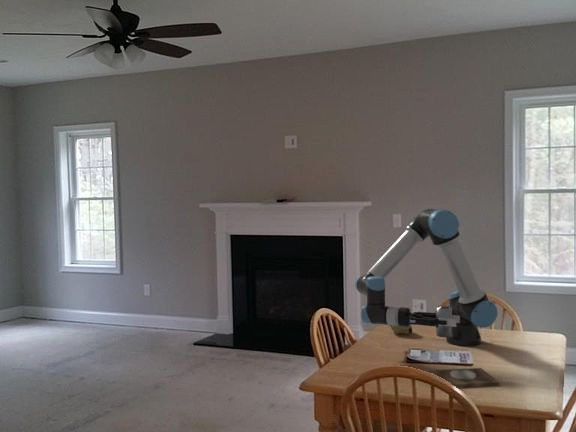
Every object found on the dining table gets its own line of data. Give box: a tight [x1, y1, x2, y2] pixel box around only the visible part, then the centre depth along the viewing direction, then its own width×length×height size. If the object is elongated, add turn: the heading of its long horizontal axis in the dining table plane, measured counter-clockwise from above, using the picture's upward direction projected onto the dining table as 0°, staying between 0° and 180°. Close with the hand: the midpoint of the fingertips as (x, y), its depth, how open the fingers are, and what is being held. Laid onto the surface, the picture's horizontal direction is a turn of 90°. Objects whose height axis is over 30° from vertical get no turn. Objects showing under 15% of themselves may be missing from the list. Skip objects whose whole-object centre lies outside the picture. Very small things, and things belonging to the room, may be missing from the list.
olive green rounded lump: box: [389, 324, 413, 335], centre depth 268 cm, size 10×12×11 cm
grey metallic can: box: [435, 305, 452, 338], centre depth 216 cm, size 6×6×11 cm
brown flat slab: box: [428, 367, 500, 389], centre depth 201 cm, size 20×16×2 cm
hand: (457, 321), depth 213 cm, fingers closed on grey metallic can, 6 cm apart
